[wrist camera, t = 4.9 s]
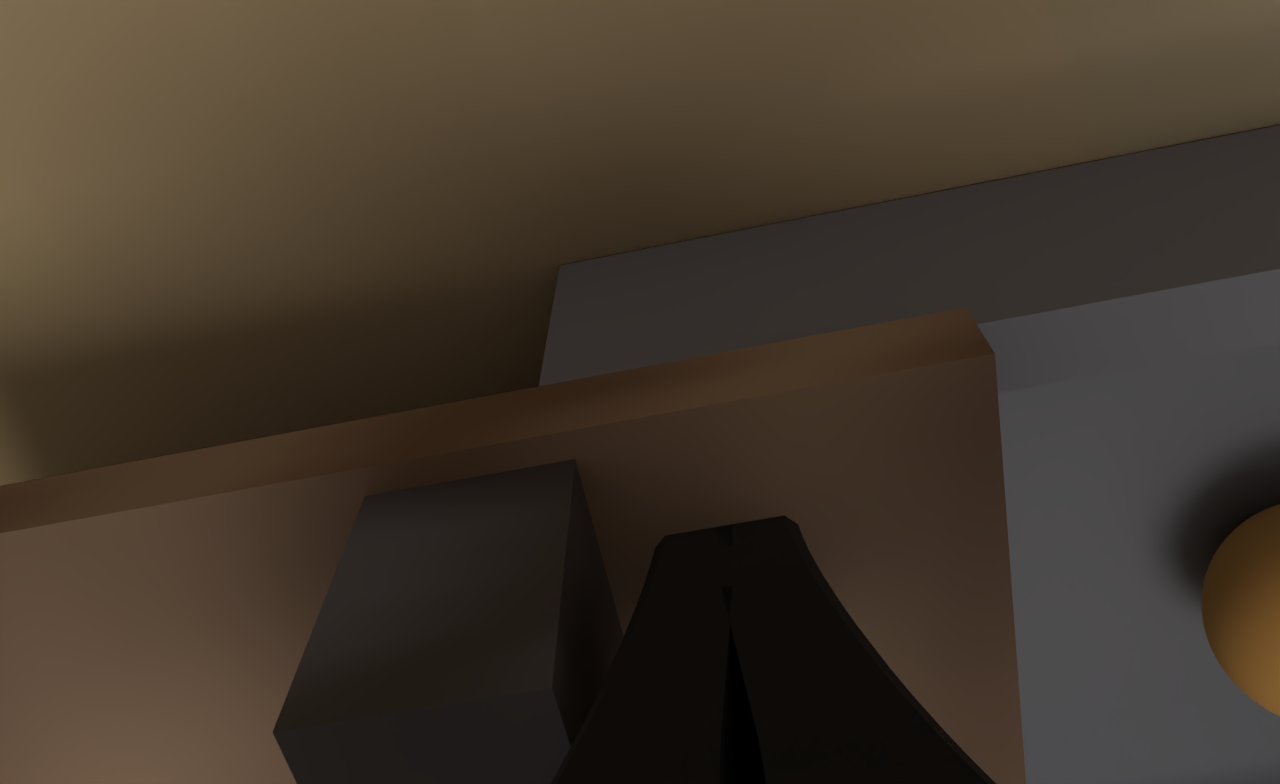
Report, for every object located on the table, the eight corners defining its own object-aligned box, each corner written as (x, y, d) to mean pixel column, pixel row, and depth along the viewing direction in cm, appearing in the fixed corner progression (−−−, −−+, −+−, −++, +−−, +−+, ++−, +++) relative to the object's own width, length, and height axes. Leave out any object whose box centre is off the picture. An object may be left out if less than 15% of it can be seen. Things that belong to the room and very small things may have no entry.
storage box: (1535, 74, 14) (1824, 169, 10) (1427, 787, 19) (1593, 1000, 16) (559, 266, 15) (534, 404, 12) (719, 886, 20) (734, 1103, 17)
